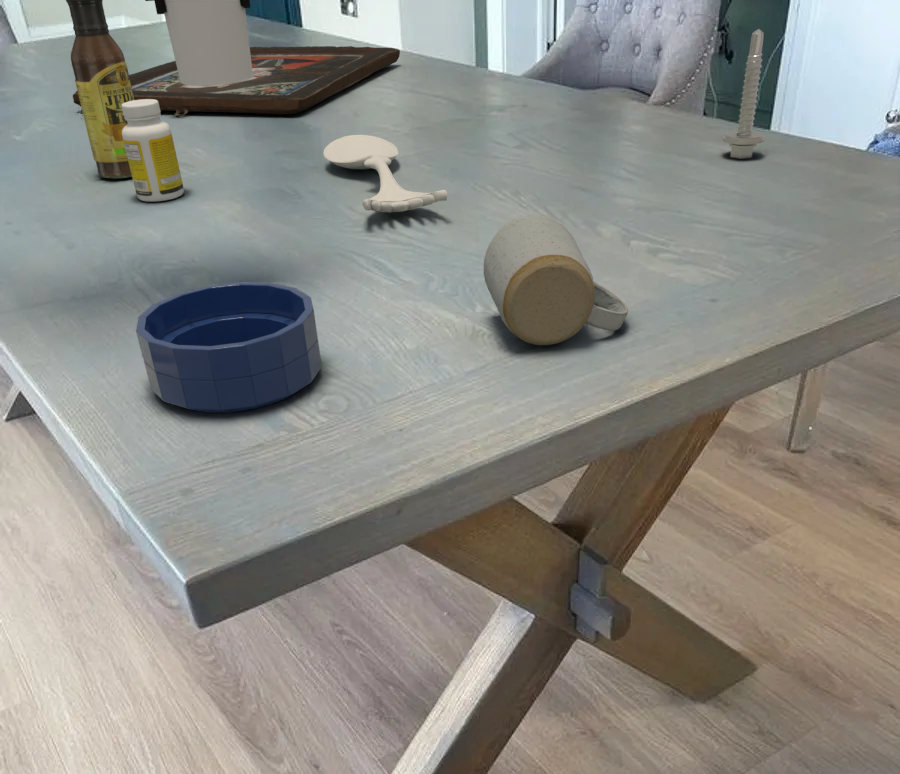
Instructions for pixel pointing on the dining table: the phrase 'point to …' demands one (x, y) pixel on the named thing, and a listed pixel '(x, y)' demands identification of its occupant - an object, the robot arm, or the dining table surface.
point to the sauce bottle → (101, 86)
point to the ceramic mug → (546, 283)
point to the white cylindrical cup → (209, 41)
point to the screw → (748, 104)
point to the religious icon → (266, 80)
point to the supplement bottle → (150, 152)
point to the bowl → (230, 346)
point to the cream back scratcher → (378, 156)
